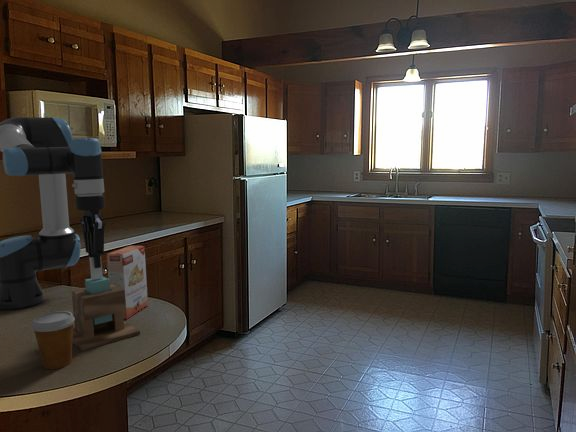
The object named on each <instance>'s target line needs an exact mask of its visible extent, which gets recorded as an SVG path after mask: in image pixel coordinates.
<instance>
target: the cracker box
mask: <svg viewBox="0 0 576 432" xmlns="http://www.w3.org/2000/svg"><path fill="white" fill-rule="evenodd" d="M106 265H107V278H108V279H109V283H112V284H114V285H116V286H118V287H120V288H122V289H124V290H125V300H126V311H123V317H124V320H128V319H129V318H131V317H132V316H134V315H135V313H136V314H137V313H138V311H139V312H140V311H142V310H143V308H144V307H145V308H147V307H148V306H149V303H148V302H149V301H148V299H149V298H148V285H147V283H148V281H147V269H146V268H147V266H146V247H145V246H143V245H128V246H126V247H123V248H120V249H118V250H113V251H112V252H109V253H106ZM147 305H148V306H147ZM146 306H147V307H146ZM145 308H144V309H145ZM141 309H142V310H141Z"/></svg>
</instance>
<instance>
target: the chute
mask: <svg viewBox="0 0 576 432" xmlns="http://www.w3.org/2000/svg"><path fill="white" fill-rule="evenodd" d="M71 300H72V301H71V302H72V311H73V313H72V314H73V317H75V320H74V323H73V325H74V327H73V340H72V344H74V345H75V346H76V347H77V348H78V349H79V350H80V351H82V352H83V351H85V350H90V349H93V348H97V347H101V346H104V345H106V344H111V343H115V342H118V341H121V340H125V339H129V338H133V337H135V336H139V335H141V331H140V329H137V328H136V327H134V326H132V325H131V324H130V323H127V321H125V319H124V317H123V311H126V300H125V290H124V289H122V288H120V287H118V286H116V285H114V284H112V283H110V291H106V292H101V293H96V294H91V295H90V294H89V293H87V292H86V287H81V288H77V289H72V290H71ZM110 314H112V320H113V321H109V322H105V323H101V324H97V325H94V324H93V319H94V318H98V317H102V316H106V315H110Z"/></svg>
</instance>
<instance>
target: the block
mask: <svg viewBox="0 0 576 432" xmlns="http://www.w3.org/2000/svg"><path fill="white" fill-rule="evenodd" d="M84 285H85V287H84V288H86V292H87V293H89V294H90V295H91V294H96V293H101V292H106V291H110V283H109V279H108V277H105V276H103V278H101V279H96V280H92V279H91V278H85V279H84ZM109 321H113V320H112V314H110V315H106V316H102V317H98V318H94V319H93V324H94V325H97V324H101V323H105V322H109Z"/></svg>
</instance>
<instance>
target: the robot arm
mask: <svg viewBox="0 0 576 432" xmlns="http://www.w3.org/2000/svg"><path fill="white" fill-rule="evenodd" d="M0 152H2V163H3V165H2V166H3V168H4V172H5V174H6V175H7V176H11V177H15V176H16V177H17V176H18V177H23V176H24V177H25V176H26V177H27V176H38V180H39V181H38V183H39V184H38V185H39V192H40V193H39V195H40V205H41V206H40V207H41V218H42V219H41V221H42V229H41V230H40V231H39V232H38V238H34V237H33V236H32V235H29V234H27V235H20V236H13V237H10V238H6V239H3V240H1V241H0V310H3V311H5V310H6V311H7V310H18V309H25V308H29V307H32V306H33V307H34V306H35V305H38V304H41V303H42V302H44V301H45V293H44V291H43V289H42V287H41V285H40V284H39V281H38V279H37V272H42V271H46V270H54V269H61V268H63V269H64V268H65V269H66V268H68V267H72V266H75V265H76V264H77V263H78V262H79V260H80V257H81V247H82V246H81V239H80V236H79V235H78V233H75V230H74V229H73V228H72V227H70V221H69V220H70V219H69V217H70V216H69V206H68V205H69V204H68V191H67V177H66V174H68V175H69V174H72V176H73V183H72V185H71V187H72V188H74V195H77V196H75V198H74V202H75V208H76V210H77V211H83V212H82V217H81V218H80V219H79V222H80V225H81V228H82V235H83V242H84V248H85V253H87V254H88V259H89V271H90V279H92V280H96V279H101V278H103V277H104V276H103V265H102V255H104V254H105V226H106V221H105V220H102V216H101V213H100V210H102V209H105V208H106V197H105V195H104V193H105V183H104V175H103V173H104V172H103V162H102V161H103V159H102V147H101V142H100V140H99V139H98V138H95V137H75V138H73V134H72V130H71V127H70V124H69V123H68V121H67V120H66V119H64V118H60V117H51V116H50V117H34V116H33V117H32V116H31V117H30V116H29V117H24V116H15V117H11V118H7V119H4V120H2V121H0Z"/></svg>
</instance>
